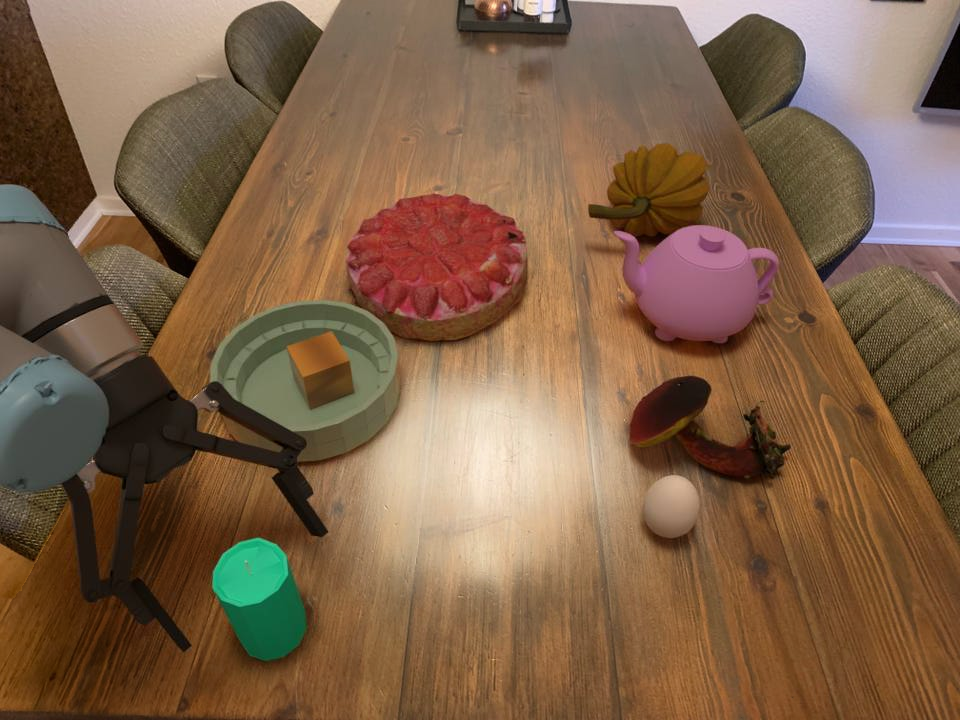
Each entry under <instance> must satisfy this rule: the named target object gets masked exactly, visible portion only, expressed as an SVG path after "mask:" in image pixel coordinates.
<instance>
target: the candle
mask: <svg viewBox="0 0 960 720" xmlns="http://www.w3.org/2000/svg"><path fill="white" fill-rule="evenodd" d="M211 587H212V590H213V593H214V594H215V597H216V598H217V600H218V602H219V604H220V606H221V607H222V609H223V612H224V614H225V615H226V617H227V620H228V622H229V623H230V625H231V628H232V629H233V632H234V634H235V635H236V638H237V639H238V641H239V643H240V645H241V646H242V647H243V649H244V650H245V651H246V653H247V655H248V656H250V657H253V658H255V659H259V660H261V661H265V662H268V661H273V660H277V659H281V658H285V657H286V656H287V655H289V654H290V653H291V652H292V651H294V650H295V648H297V647H298V646H299V645H300V644H301V642H302V639H303V638H304V635H305V633H306V631H307V630H308V629H307V626H308V625H307V614H306V610H305V607H304V604H303V600H302V598H301V595H300V591H299V589H298V586H297V583H296V580H295V577H294V574H293V571H292V567H291V565H290V562H289V558H288V555H287V554H286V553H285V552H284V551H283V550H282V549H281V547H280V546H279V545H278V544H277V543H274V542H272V541H269V540H267V539H264V538H261V537H256V538H255V537H254V538H251V539H247V540H242V541H239V542H238V543H236V544H235V545H233V546H232V547H231V548H228V549H227V550H226V551H224V552H223V553H222V555H221V556H220V558H219V560H218V562H217V563H216V565H215V567H214V569H213V570H212V586H211Z"/></svg>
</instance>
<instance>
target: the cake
mask: <svg viewBox="0 0 960 720" xmlns="http://www.w3.org/2000/svg"><path fill="white" fill-rule="evenodd" d="M516 223H517V222H516V219H515V218H514V217H510V216H507V215H505V214H502V213H500V212H498V211H496V210H494V209H493V208H492V207H490V206H489V205H488V204H483V203H480V202H476V201H474V200H473V199H472V198H470V197H468V196H466V195H463V194H460V193H459V194H458V193H454V194H452V195H442V194H438V193H434V192H433V193H430V194H423V195H417V196H413V197H403V198H399V199H398V200H397V202H396V203H395V204H393V205H391V206H389V207H385V208H382V209H381V210H379V211H378V212H377V213H376V214H375V215H374V216H372V217H369V218H366V219H363V220H362V222H361V224H360V227H359V228H358V230H356V232H355V233H354V234H353V236H352V237H351V239H350V241H349V242H348V243H347V246H346V251H345V263H346V277H347V280H348V284H349V286H350V290H351V291H352V292H353V293H354V294H353V295H354V296H355V300H356V304H358V305H359V307H360V308H361V309H364V310H367V311H368V312H370V313H371V314H372V315H374V316H375V317H377V318H378V319H379V320H381V321H382V322H383V323H384V324H385V325H386V327H387V328H388V330H389V331H390V332H391V333H393V334H395V335H397V336H399V337H401V338H403V339H407V340H409V339H419V340H424V341H428V342H439V341H456V340H460V339H463V338H465V337H469V336H472V335H473V334H475V333H478V332H481V330H483V329H484V328H487V327H488V326H490V325H491V324H494V323H495V322H497V321H499V320H500V318H502V317H503V316H504V315H505V314H506V313H507V312H509V311H510V310H511V309H513V307H514V306H515V305H516V304H517V303H518V302H519V301H520V299H521V298H522V296H523V294H524V292H525V288H526V285H527V281H528V276H529V275H528V274H529V273H528V271H529V270H528V269H529V267H528V266H529V263H528V262H529V261H528V259H529V257H528V247H527V238H526V236H525V235H524V232H523V231H522V230H520V228H519V227H518V226H517V224H516Z"/></svg>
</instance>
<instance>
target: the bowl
mask: <svg viewBox="0 0 960 720" xmlns="http://www.w3.org/2000/svg"><path fill="white" fill-rule="evenodd" d="M330 331H332V332H333V334H334V336H335V337H336V339H337V340H338V342H339V344H340V345H341V347H342V349H343V350H344V352H345V354H346V355H347V357H348V358H349V360H350V366H351V373H352V379H353V386H354V393H353V394H350V395H348V396H345V397H343V398H340V399H337V400H335V401H332V402H329V403H327V404H324V405H321V406H319V407H316V408H314V409H311V410H310V409H309V407H308V405H307V403H306V401H305V399H304V397H303V396H302V394H301V392H300V390H299V388H298V386H297V384H296V382H295V380H294V377H293V373H292V369H291V365H290V360H289V356H288V352H287V348H286V347H287V346H289V345H292V344H295V343H298V342H301V341H304V340H307V339H310V338H313V337H315V336H318V335H321V334H324V333H327V332H330ZM396 343H397V342H396V338H395V337H394V335H393V334H392V332H391V331H389V330H388V328H387V327H386V325H385V324H384V323H383V322H382V321H381V320H379V319H378V318H377V317H375V316H374V315H372V314H371V313H370V312H368V311H367V310H364V309H362V308H361V307H360V306H359V307H358V306H356V305H353V304H352V303H348V302H343V301H336V300H330V299H305V300H303V299H301V300H297V301H292V302H287V303H282V304H278V305H276V306H271V307H270V308H268V309H265V310H263V311H261V312H258V313H256V314H253V315H251V316H250V317H249V318H247V319H246V320H245V321H243V322H241V323H240V324H239V325H237V326H236V327H234V328H233V329H231V331H230V332H229V333H228V334H227V336H225V337H224V339H222V341H221V342H220V343H219V345H218V347H217V349H216V351H215V354H214V356H213V358H212V359H211V362H210V366H209V367H210V368H209V370H210V371H209V383H211V382H213V381H217V382H219V383H221V384H222V386H223V387H224V388H225V389H226V390H227V391H228V392H229V394H230V395H231V396H232V397H233V398H234V399H235V400H237V401H239V402H241V403H242V404H244V405H246V406H248V407H250V408H251V409H253V410H255V411H257V412H258V413H260V414H262V415H264V416H266V417H267V418H269V419H271V420H273V421H275V422H276V423H278V424H280V425H282V426H284V427H285V428H287V429H289V430H291V431H293V432H294V433H296V434H298V435H300V436H302V437H303V438H305V439H306V441H307V445H306V448H305V449H303V450H302V451H301V453H300V454H299V456H298V457H297V460H298V461H297V463H299V462H314V461H315V462H317V461H323V460H325V459H329V458H332V457H336V456H340V455H343V454H346V453H348V452H350V451H352V450H353V449H356V448H358V447H359V446H361V445H363V444H365V443H366V442H368V441H370V439H372V438H373V437H374V436H375V435H376V434H377V433H378V432H379V431H380V430H382V428H383V427H385V426H386V425H387V423H388V422H389V420H390V419H391V417H392V415H393V413H394V412H395V410H396V408H397V407H398V404H399V399H400V392H401V387H402V384H401V372H400V359H399V358H400V357H399V351H398V348H397V344H396ZM220 415H221V418H222V421H223V423H224V425H225V428H226V430H227V432H228V433H229V434H230V435H231V436H232V437H233V438H234V440H236V442H240V443H244V444H248V445H252V446H256V447H260V448H264V449H268V450H272V451H276V452H281V450H282V449H283V448H282V447H280V446H278V445H277V444H275V443H273V442H271V441H269V440H267V439H266V438H264V437H262V436H260V435H258V434H256V433H255V432H253V431H251V430H249V429H247V428H245V427H243V426H242V425H240V424H238V423H236V422H234V421H232V420H231V419H229V418H227V417H225V416H223V415H222V414H220Z"/></svg>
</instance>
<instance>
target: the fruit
mask: <svg viewBox="0 0 960 720" xmlns="http://www.w3.org/2000/svg"><path fill="white" fill-rule="evenodd" d="M708 167H709V165H708V163H707V162H706V160H705V158H704V156H703V155H702V154H698V153H695V152H691V151H684V152H682V153H679V154H678V150H677V148H676V147H675V146H673V145H672V144H670V143H669V142H665V143H664V142H663V143H657V144H656V145H654V146H653V147H651V149H648V148H647V146H646V145H645V146H644V145H643V146H638V148H637V150H636V151H634V150H633V149H631V150H629V151H628V152H626V153H625V152H624V159H623V161H622V162H618V163H616V164H615V165H613V167H612V168H613V169H612V172H613V175H614V179H613V180H612V181H611V182H610V184H609V185H608V186H607V188H606V189H607V190H606V196H607V200H608V201H609V203H610V204H612V205H613V206H605V205H601V204H594V203H588V204H587V211H588V216H589V219H599V220H612V223H613V225H614V226H615V227H616V228H623V232H625V233H628V234H630V235H632V236H634V237H635V238H636V237H640V236H642V235H645V236H647V237H656V236H657V235H658V234H659V233H661V234H663V235H671V234H673V233H674V232H676V231H677V230H679V229H681V228H684V227H688V226H691V225H692V224H694V223H696V222H698V221H699V220H701V218H702V214H703V209H704V207H703V205H702V203H703V202H704V201H705V200H706V198H707V196H708V194H709V191H710V188H709V184H708V181H707V178H706V177H704V176H703V175H704V174H705V172H706V171H707V170H708Z"/></svg>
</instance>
